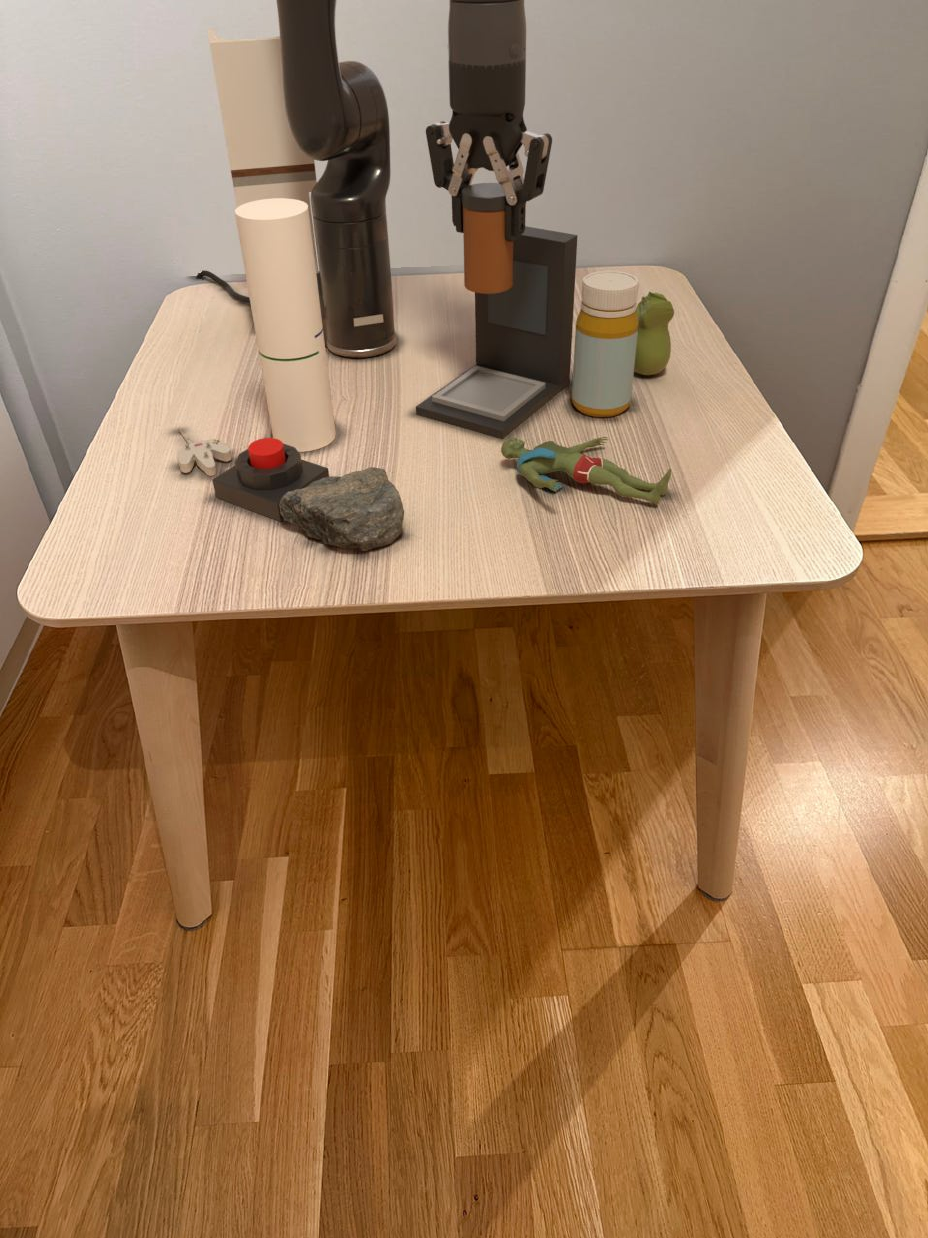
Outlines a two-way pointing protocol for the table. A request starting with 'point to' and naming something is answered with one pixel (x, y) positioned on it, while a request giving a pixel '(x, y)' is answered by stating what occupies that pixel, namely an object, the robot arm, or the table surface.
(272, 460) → the button
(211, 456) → the game controller
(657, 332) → the pear
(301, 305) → the cylindrical container
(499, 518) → the table surface
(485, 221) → the orange canister with lid
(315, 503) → the rock
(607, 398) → the bottle
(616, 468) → the figurine
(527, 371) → the coffee maker
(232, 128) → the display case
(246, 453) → the control block
